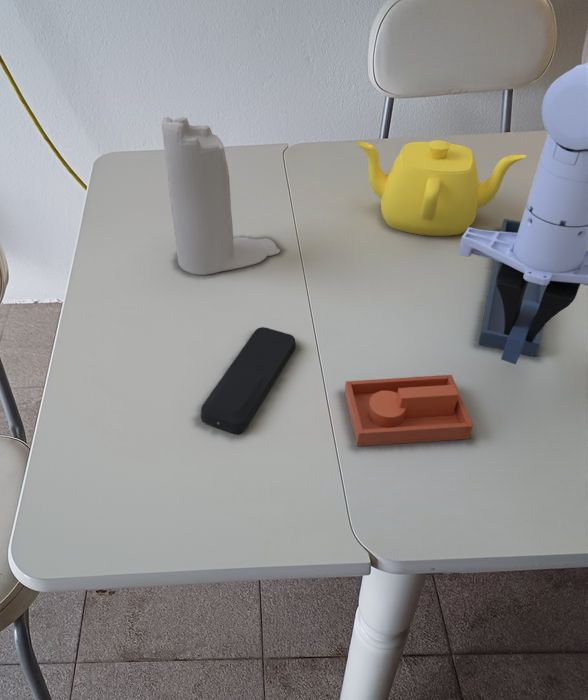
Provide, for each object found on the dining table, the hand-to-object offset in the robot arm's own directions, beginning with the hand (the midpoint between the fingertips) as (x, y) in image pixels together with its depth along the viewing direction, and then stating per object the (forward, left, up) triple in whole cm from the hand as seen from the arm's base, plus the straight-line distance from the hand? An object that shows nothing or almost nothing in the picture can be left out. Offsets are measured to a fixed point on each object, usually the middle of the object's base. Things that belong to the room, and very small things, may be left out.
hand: (519, 332), depth 63 cm
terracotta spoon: (+7, +9, -7) cm, 13 cm away
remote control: (+23, +13, -8) cm, 27 cm away
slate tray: (+3, -18, -8) cm, 20 cm away
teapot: (+18, -27, -8) cm, 34 cm away
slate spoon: (0, -1, -2) cm, 2 cm away
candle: (+38, -6, -8) cm, 39 cm away
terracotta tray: (+7, +9, -8) cm, 14 cm away
